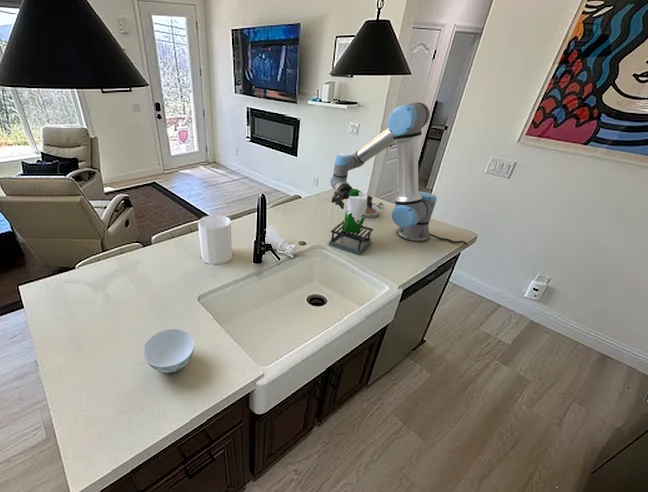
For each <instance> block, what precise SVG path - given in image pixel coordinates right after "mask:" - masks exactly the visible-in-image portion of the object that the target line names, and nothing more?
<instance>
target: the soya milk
mask: <svg viewBox="0 0 648 492" xmlns="http://www.w3.org/2000/svg"><path fill="white" fill-rule="evenodd" d="M359 191H360V190H359V189H358V188H353V189H351V190H350V194H349V198H348V199H347V202H346V208H345V213H344V219H343V221H344V232H350V233H355V234H358V235H360V233H361V232H360V230H361V229H362V228H361V227H362V226H364V225H363V224H364V222H365V218H364V217H365V212H366V208H367V195H369V194H368V193H366V192H362V191H361V192H362V193H361V192H359ZM359 232H360V233H359Z"/></svg>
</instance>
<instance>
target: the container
mask: <svg viewBox="0 0 648 492" xmlns="http://www.w3.org/2000/svg"><path fill="white" fill-rule="evenodd" d="M197 227H198V236H199V246H200V247H199V248H200V255H201V257H200V258H201V260H202V261H203V262H205V263H207V264H209V265H222V264H226V263H227V262H229V261H230V260H231V259H232V257H233V245H232V244H233V243H232V242H233V241H232V221H231V218H229V217H227V216H226V215H222V214H210V215H205V216H203V217H201V218H200V219H199V220H198V222H197Z"/></svg>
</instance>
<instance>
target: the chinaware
mask: <svg viewBox="0 0 648 492" xmlns="http://www.w3.org/2000/svg"><path fill="white" fill-rule="evenodd" d="M194 351H195V340H194V337H193V336H192V334H191V333H189V332H188V331H186V330H184V329H179V328H168V329H164V330H161V331H158V332H156V333H154V334H153V335H152V336H150V337H149V338H148V340H146V341H145V343H144V346H143V348H142V355H143V359H144V360H145V361H146V363H147V364H148V365H149V366H150V368H152V369H153V370H155V371H157V372H159V373H160V372H161V373H166V374H169V373H175V372H177V371H180V370H181V369H183V368H184V367H185V366H186V365H188V364H189V362H190V361H191V358H192V356H193V355H194Z"/></svg>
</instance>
